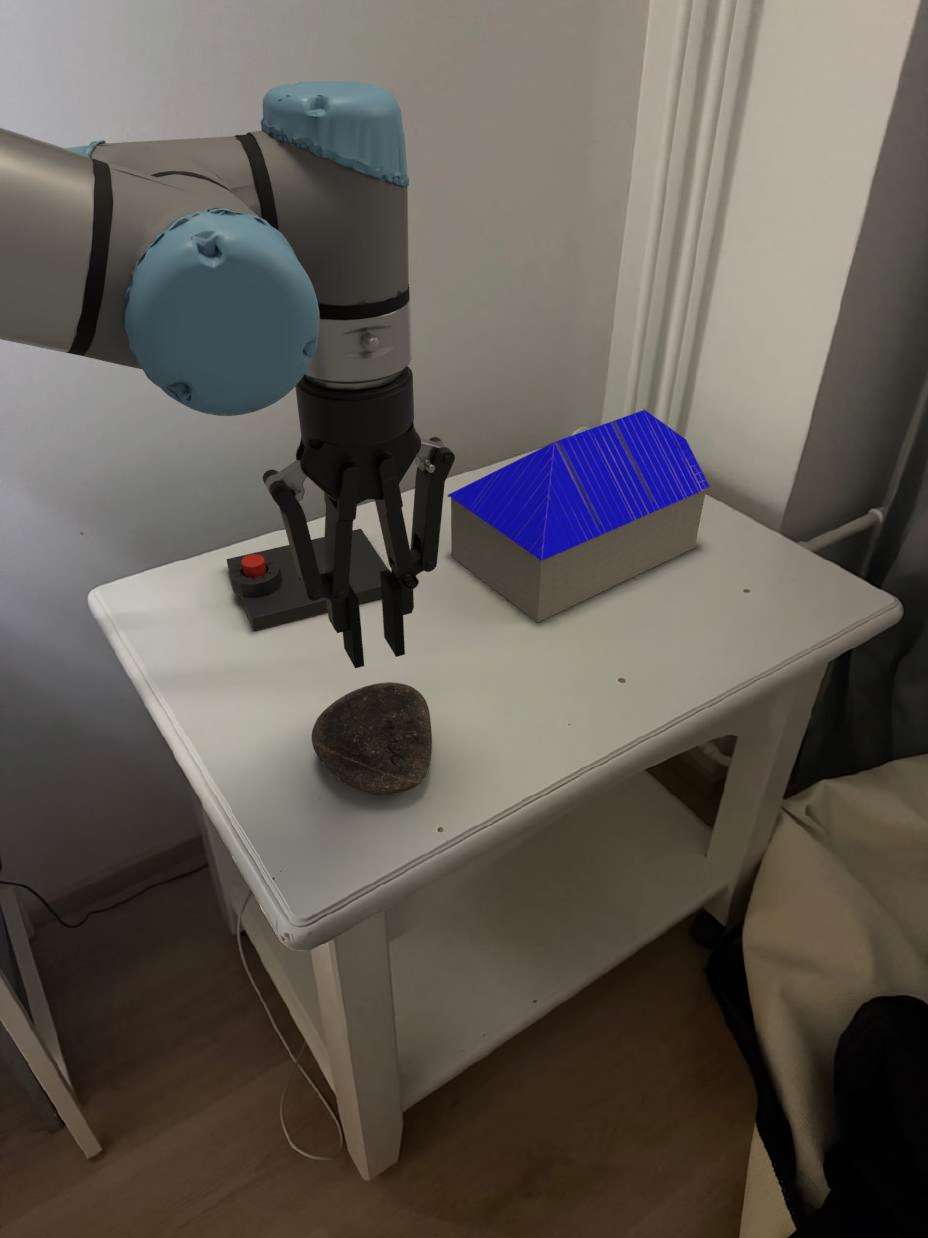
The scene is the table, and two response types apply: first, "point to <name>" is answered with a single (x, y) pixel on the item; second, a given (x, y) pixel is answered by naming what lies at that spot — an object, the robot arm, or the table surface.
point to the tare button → (253, 566)
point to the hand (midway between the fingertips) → (374, 650)
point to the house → (580, 514)
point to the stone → (376, 738)
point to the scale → (282, 592)
